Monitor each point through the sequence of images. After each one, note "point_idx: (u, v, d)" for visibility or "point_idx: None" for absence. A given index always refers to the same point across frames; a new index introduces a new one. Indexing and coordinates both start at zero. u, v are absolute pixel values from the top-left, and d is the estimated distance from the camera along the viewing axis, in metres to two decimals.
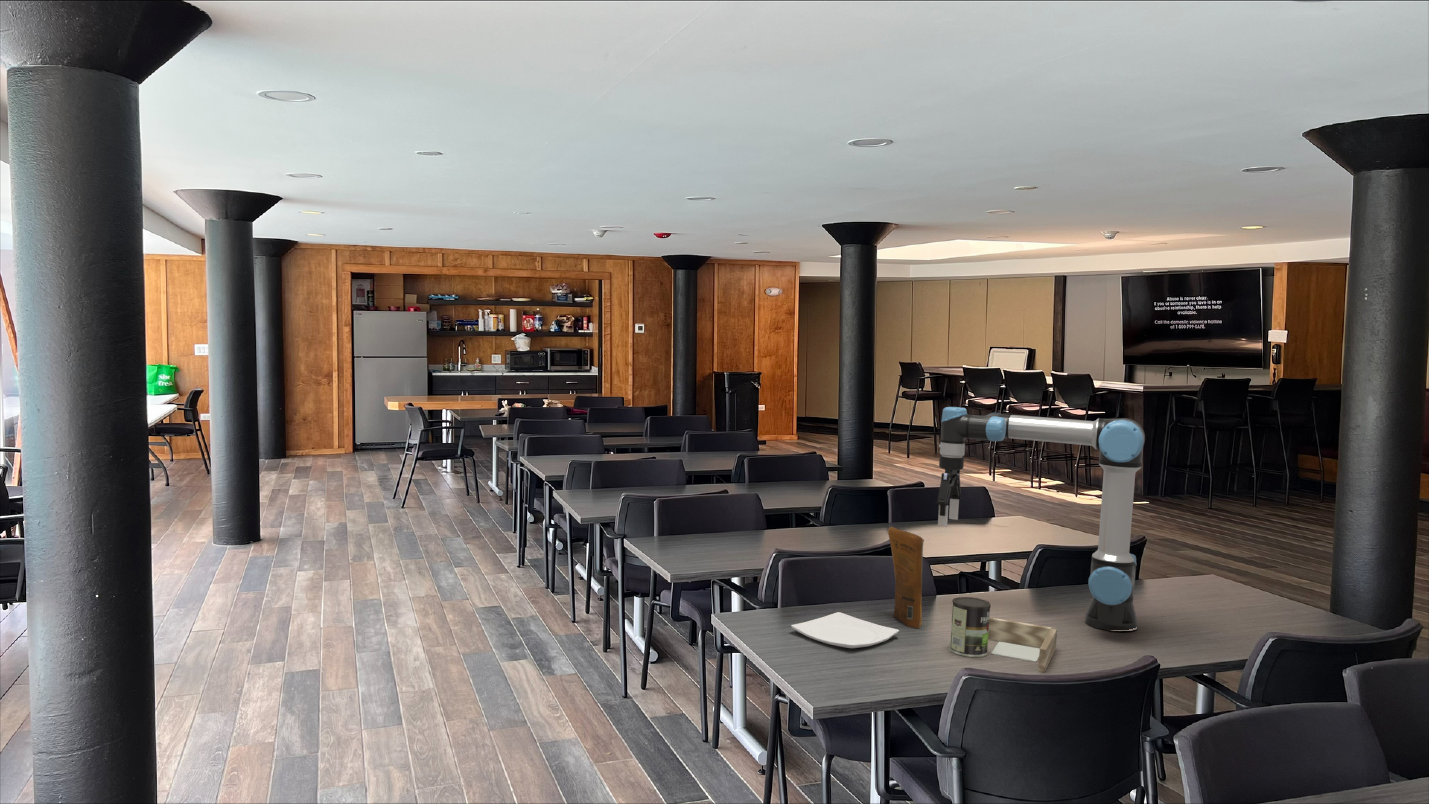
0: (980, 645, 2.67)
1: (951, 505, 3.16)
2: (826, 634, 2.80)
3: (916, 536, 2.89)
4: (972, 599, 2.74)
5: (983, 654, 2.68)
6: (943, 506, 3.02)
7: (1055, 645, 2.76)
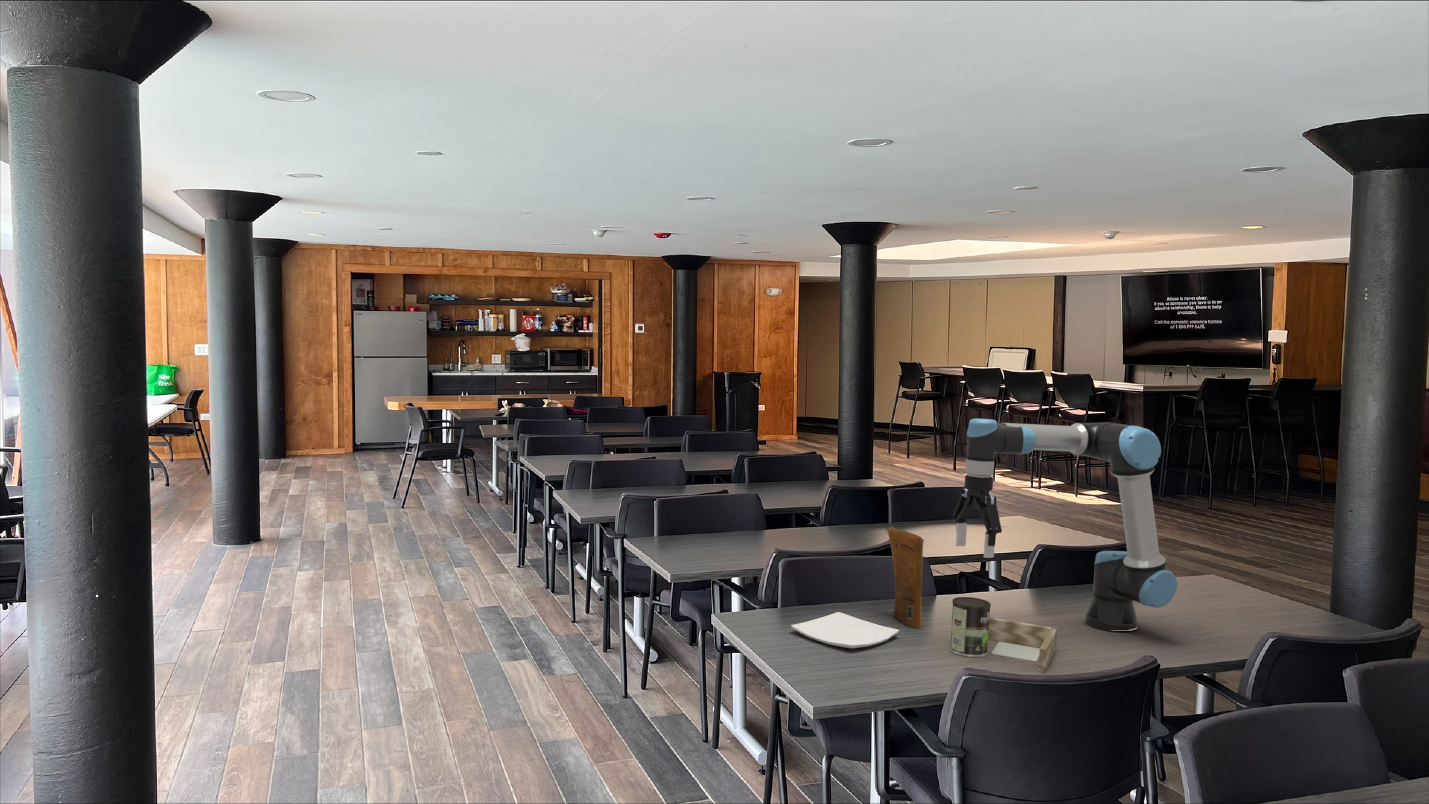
0: (980, 645, 2.67)
1: None
2: (826, 634, 2.80)
3: (916, 536, 2.89)
4: (972, 599, 2.74)
5: (983, 654, 2.68)
6: None
7: (1055, 645, 2.76)
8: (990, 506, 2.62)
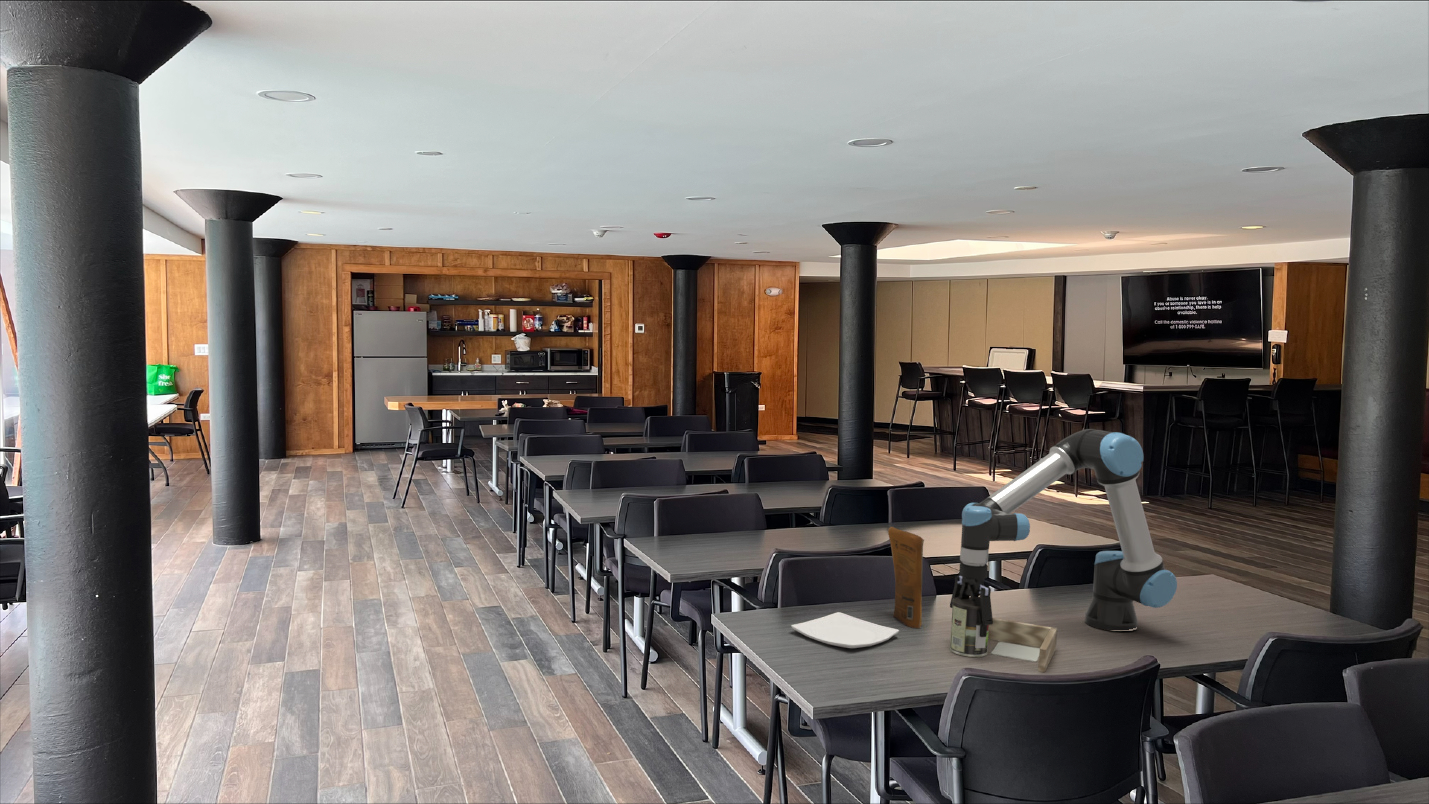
0: None
1: None
2: (826, 634, 2.80)
3: (916, 536, 2.89)
4: None
5: (983, 654, 2.68)
6: None
7: (1055, 645, 2.76)
8: (984, 598, 2.64)
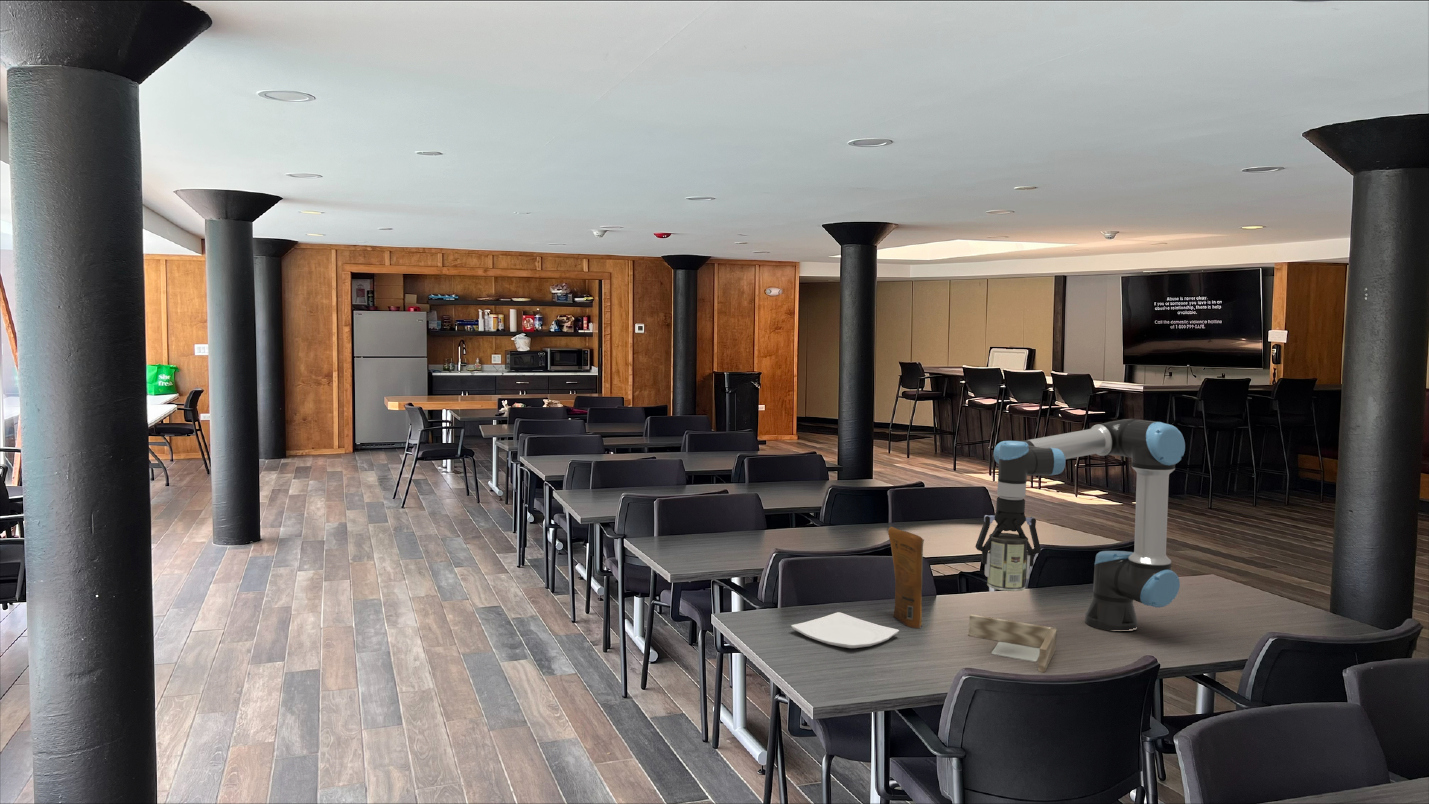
0: None
1: None
2: (826, 634, 2.80)
3: (916, 536, 2.89)
4: None
5: None
6: (982, 553, 2.71)
7: (1055, 645, 2.76)
8: None
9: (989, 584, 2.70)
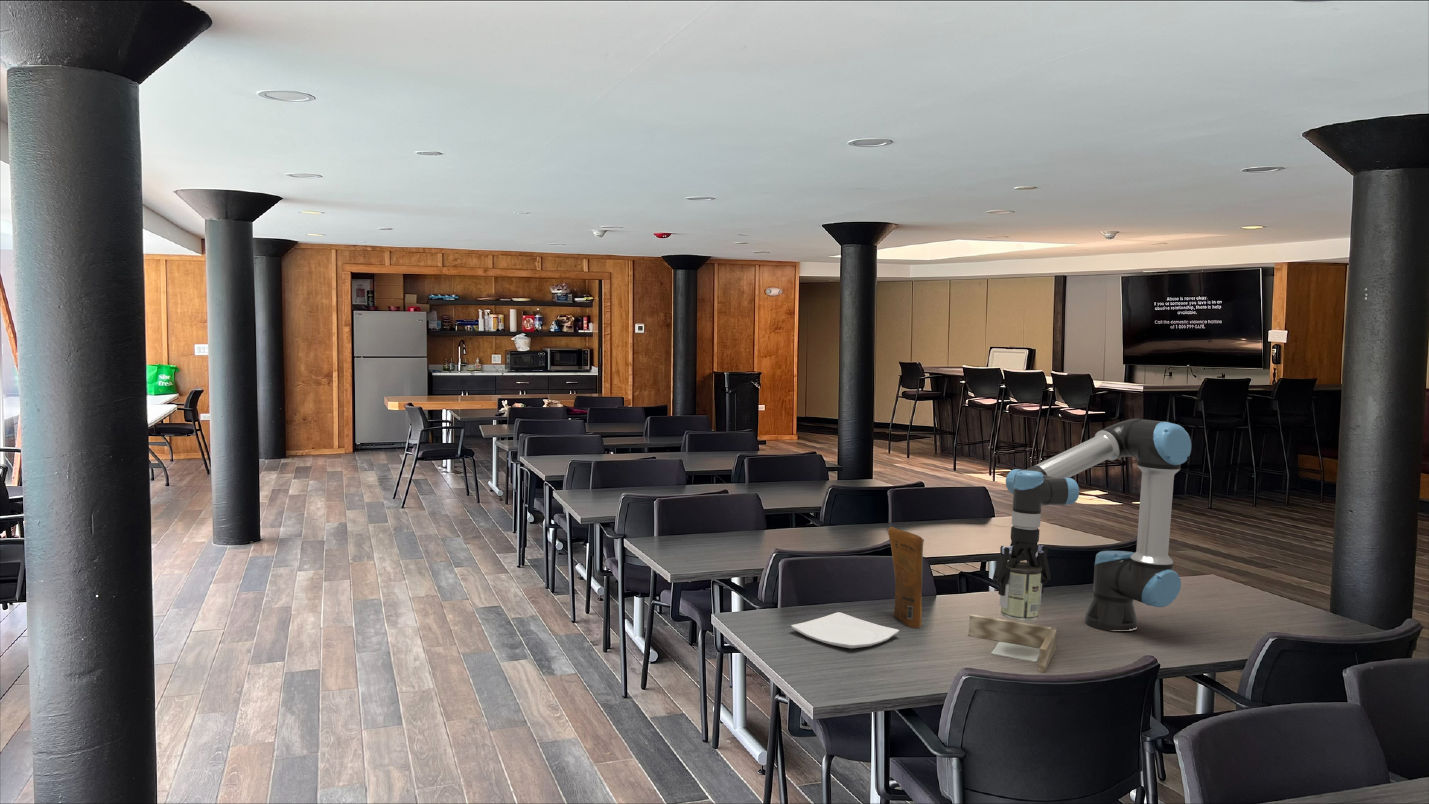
0: None
1: None
2: (826, 634, 2.80)
3: (916, 536, 2.89)
4: None
5: None
6: (1000, 584, 2.69)
7: (1055, 645, 2.76)
8: None
9: (1007, 615, 2.69)
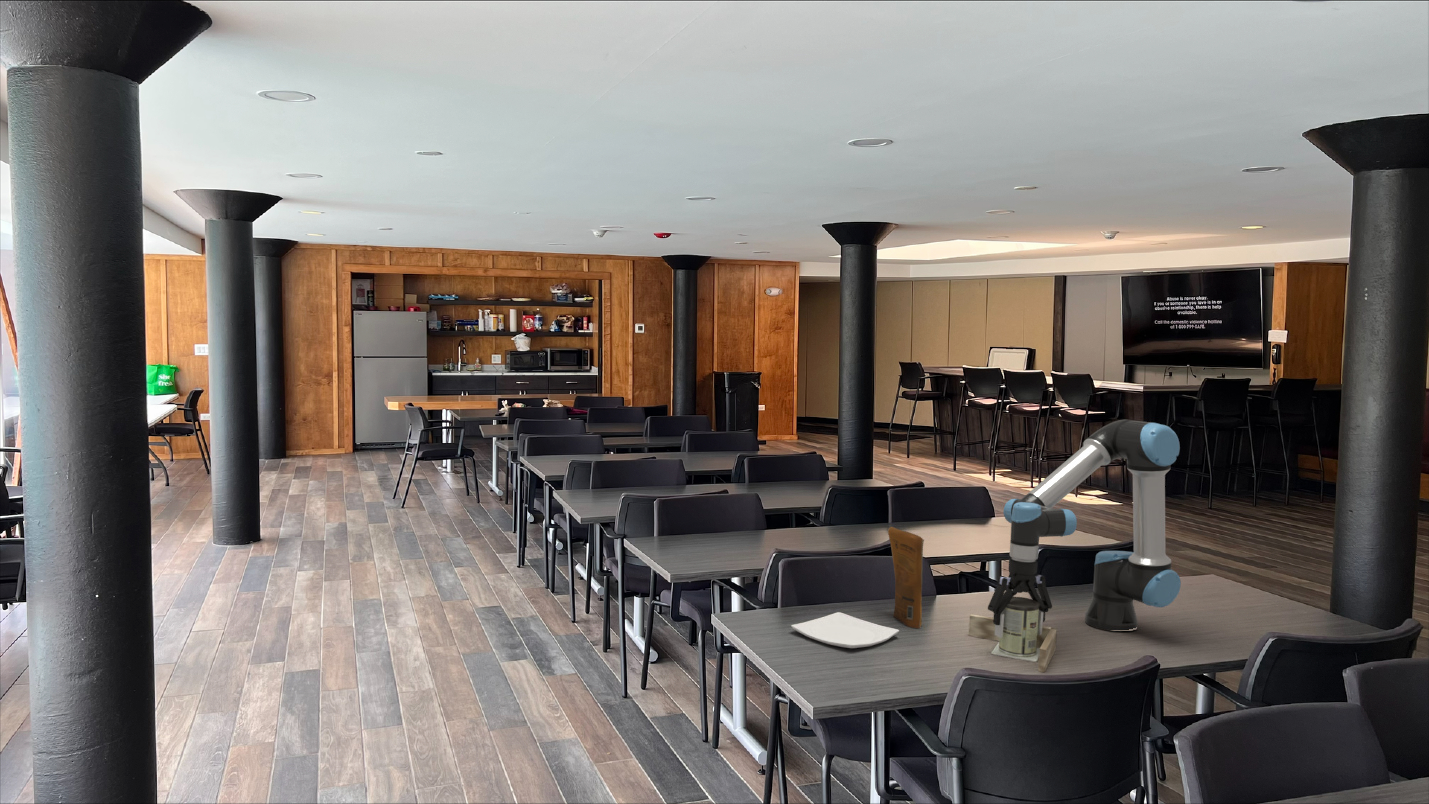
0: None
1: None
2: (826, 634, 2.80)
3: (916, 536, 2.89)
4: None
5: None
6: (995, 614, 2.69)
7: (1055, 645, 2.76)
8: None
9: (1005, 651, 2.70)
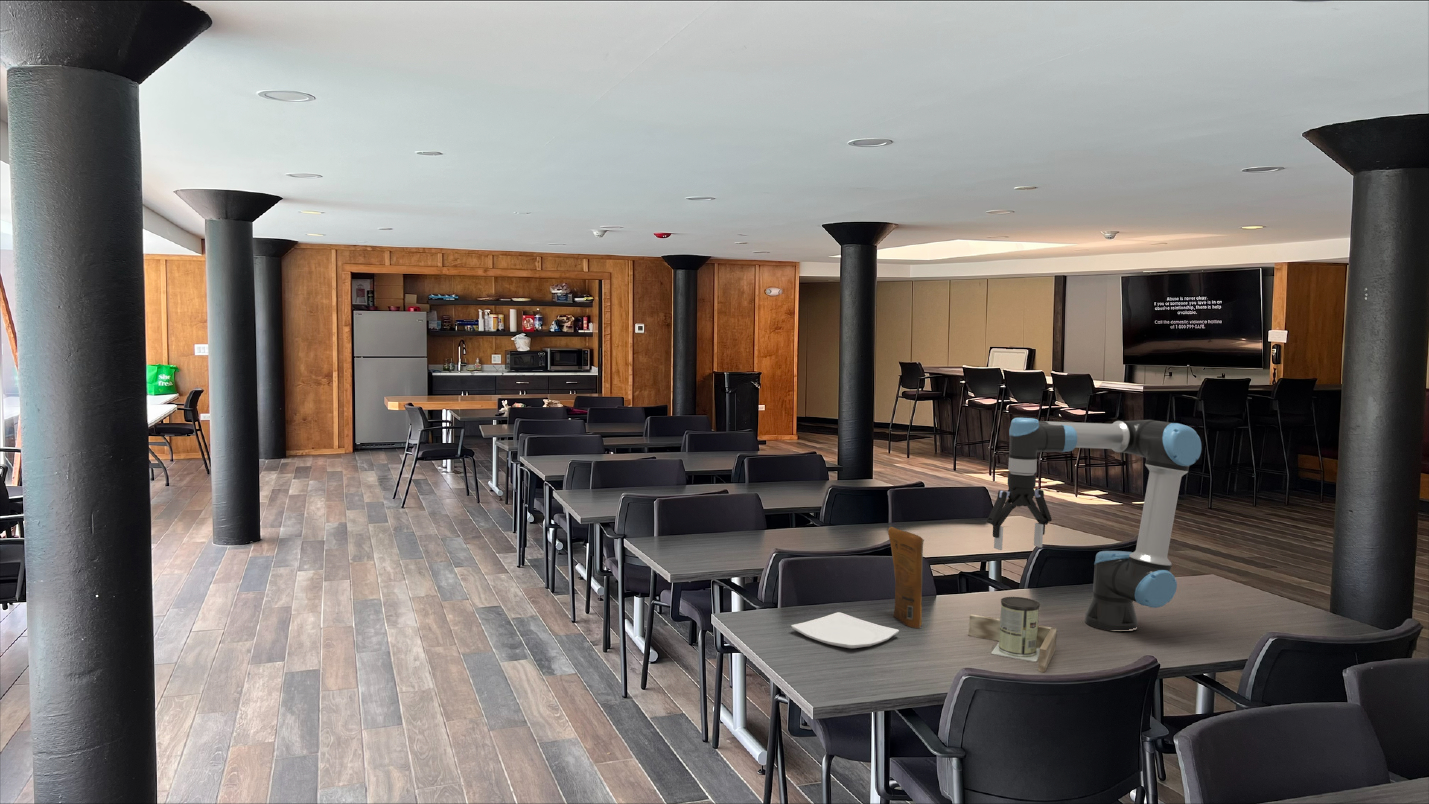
0: None
1: (1035, 530, 2.78)
2: (826, 634, 2.80)
3: (916, 536, 2.89)
4: (1007, 600, 2.73)
5: None
6: (995, 527, 2.72)
7: (1055, 645, 2.76)
8: None
9: (1005, 651, 2.70)
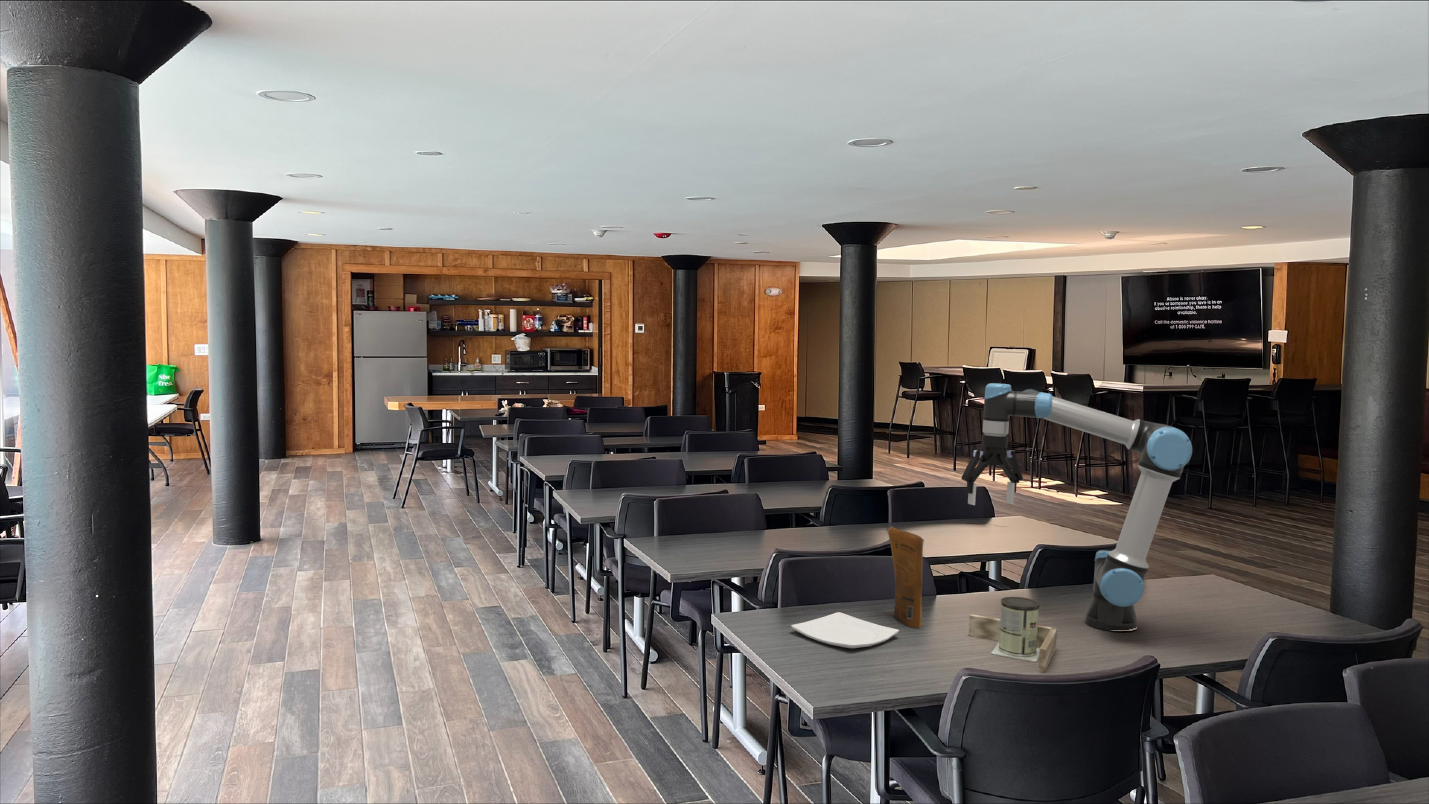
0: None
1: (1008, 488, 3.00)
2: (826, 634, 2.80)
3: (916, 536, 2.89)
4: (1007, 600, 2.73)
5: None
6: (968, 483, 2.94)
7: (1055, 645, 2.76)
8: None
9: (1005, 651, 2.70)
